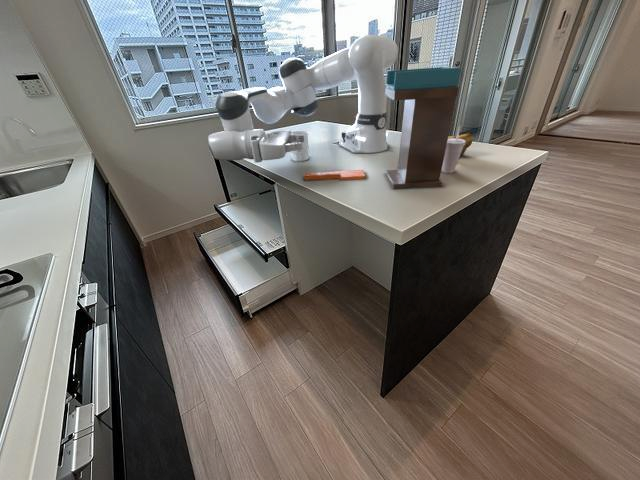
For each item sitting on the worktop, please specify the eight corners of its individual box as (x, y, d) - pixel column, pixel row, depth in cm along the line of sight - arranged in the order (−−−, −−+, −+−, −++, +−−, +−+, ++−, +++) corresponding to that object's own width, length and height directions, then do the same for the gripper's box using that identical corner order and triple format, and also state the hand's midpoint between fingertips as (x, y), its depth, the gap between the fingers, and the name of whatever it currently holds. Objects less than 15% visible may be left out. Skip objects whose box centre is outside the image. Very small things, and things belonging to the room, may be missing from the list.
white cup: (305, 162, 103) (303, 135, 98) (287, 161, 106) (284, 135, 100) (312, 156, 110) (310, 131, 104) (295, 155, 112) (292, 131, 106)
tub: (394, 90, 64) (395, 72, 61) (385, 87, 73) (387, 71, 70) (457, 86, 63) (461, 67, 60) (441, 83, 72) (443, 66, 70)
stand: (386, 190, 77) (395, 91, 63) (379, 174, 88) (385, 87, 73) (441, 187, 76) (463, 86, 62) (427, 172, 87) (443, 82, 72)
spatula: (304, 181, 86) (304, 177, 86) (305, 175, 91) (305, 171, 90) (365, 178, 85) (365, 174, 84) (363, 172, 90) (363, 168, 89)
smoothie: (460, 174, 83) (472, 127, 75) (439, 174, 84) (448, 128, 77) (456, 167, 88) (466, 123, 80) (435, 167, 90) (444, 123, 82)
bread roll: (443, 161, 94) (447, 138, 89) (425, 155, 102) (429, 133, 97) (471, 156, 97) (477, 133, 93) (452, 149, 105) (457, 128, 100)
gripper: (267, 145, 93) (306, 143, 92) (254, 164, 76) (301, 162, 75) (264, 127, 90) (304, 124, 89) (249, 142, 73) (298, 139, 72)
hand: (303, 142), depth 82 cm, fingers open, 8 cm apart
